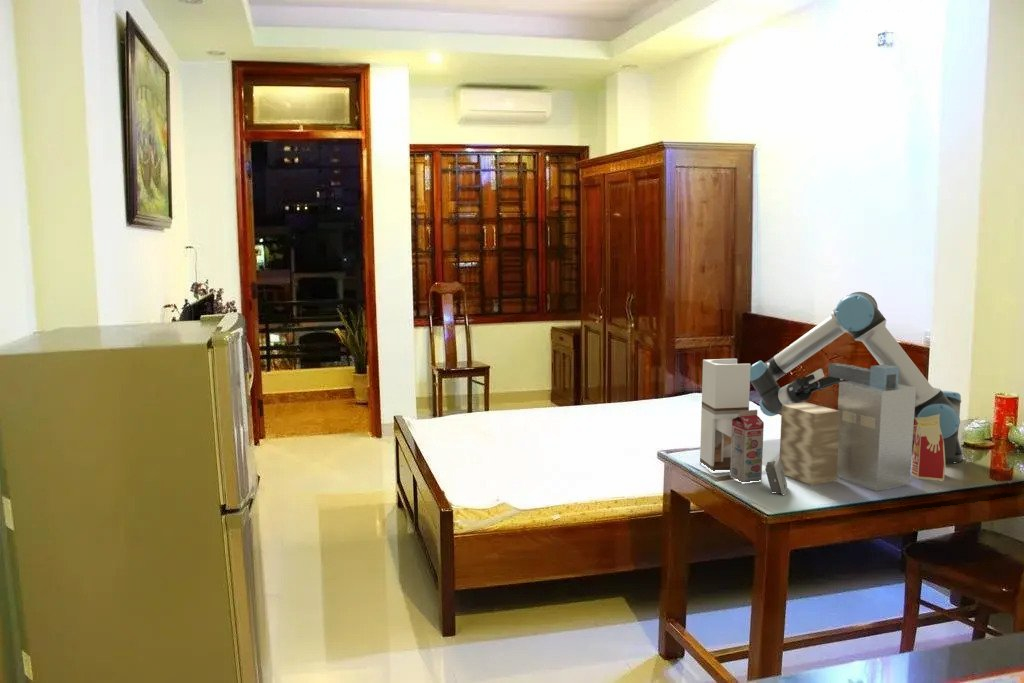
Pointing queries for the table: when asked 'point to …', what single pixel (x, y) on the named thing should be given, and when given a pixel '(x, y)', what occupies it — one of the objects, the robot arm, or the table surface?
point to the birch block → (809, 442)
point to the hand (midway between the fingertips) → (838, 370)
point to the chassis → (875, 434)
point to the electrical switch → (776, 476)
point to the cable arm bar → (866, 374)
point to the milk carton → (928, 450)
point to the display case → (721, 408)
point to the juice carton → (747, 446)
